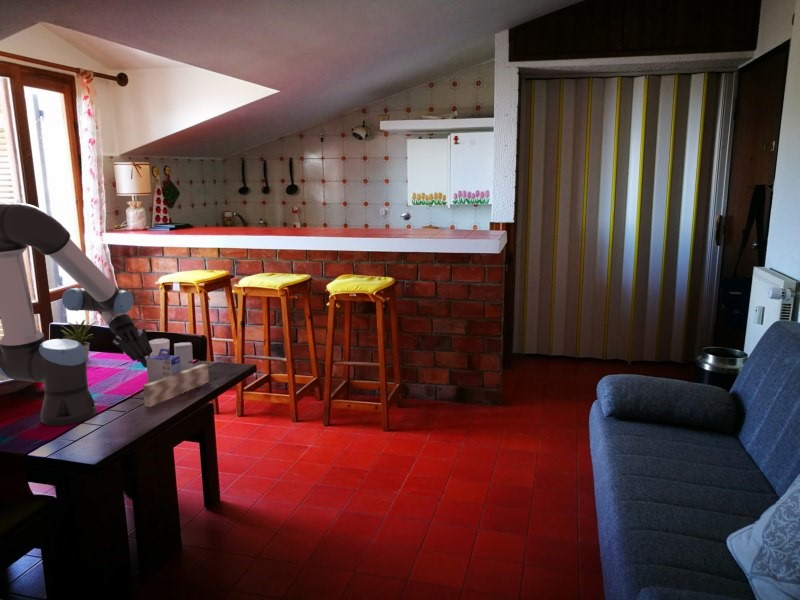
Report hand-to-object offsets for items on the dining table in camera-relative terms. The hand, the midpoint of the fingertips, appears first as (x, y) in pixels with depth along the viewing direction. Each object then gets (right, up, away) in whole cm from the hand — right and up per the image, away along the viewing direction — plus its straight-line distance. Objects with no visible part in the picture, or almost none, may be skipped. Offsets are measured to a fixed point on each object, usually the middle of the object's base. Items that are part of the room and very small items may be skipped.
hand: (154, 372), depth 212 cm
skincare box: (+6, -3, +13) cm, 15 cm away
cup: (-13, +2, +35) cm, 37 cm away
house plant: (-42, +2, +32) cm, 53 cm away
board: (+10, -6, -6) cm, 13 cm away
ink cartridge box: (+5, -6, -3) cm, 8 cm away
